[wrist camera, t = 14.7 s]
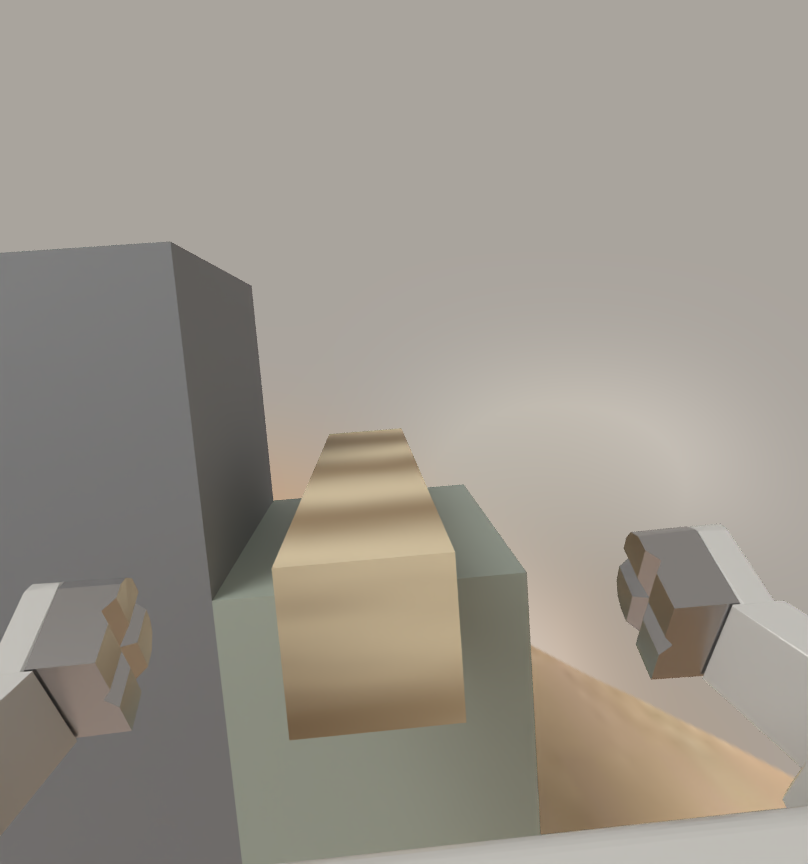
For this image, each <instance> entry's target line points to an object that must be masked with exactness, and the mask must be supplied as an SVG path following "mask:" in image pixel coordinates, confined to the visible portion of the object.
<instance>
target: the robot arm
mask: <svg viewBox="0 0 808 864" xmlns="http://www.w3.org/2000/svg"><path fill="white" fill-rule="evenodd" d="M624 550H625V552H626V554H627V556H628V559H627V560H626V561H625V562H624V563H623V564H622V565H621V566H619V571H618V576H617V591H618V598H619V602H620V606H621V609H622V612H623V614H624V617H625V619H626V621H627V622H628V623H629V624H631V625H632V626H633V627H635V628H636V629H637V630H639V635H638V638H637V642H636V646H637V648H638V650H639V653H640V655H641V657H642V659H643V662H644V664H645V666H646V669H647V671H648V674H649V676H650V678H651V679H666V678H680V677H693V676H703V678H702V679H703V680H704V681H706V682H707V683H708V684H709V685H710V686H711V687H712V688H713V689H714V690H715V691H717V692H718V693H719V694H720V695H721V696H722V697H723V698H724V699H726V700H727V701H728V702H729V703H730V704H731V705H732V706H733V707H734V708H735V709H737V710H738V711H739V712H740V713H741V714H742V715H743V716H744V717H745V718H746V719H748V720H749V721H750V722H751V723H752V724H753V725H754V726H755V727H756V728H758V729H759V730H760V731H761V732H762V733H763V734H764V735H765V736H766V737H767V738H769V739H770V740H771V741H772V742H773V743H774V744H775V745H776V746H778V747H779V748H780V749H781V750H782V751H783V752H784V753H785V754H786V755H787V756H789V757H790V758H791V759H792V760H793V761H794V762H795V763H796V764H797V765H799V767H801V770H800V771H799V773H798V774H797V776H796V777H795V779H794V780H793V782H792V783H791V785H790V786H789V788H788V789H787V791H786V793H785V795H784V797H783V801H784V803H785V805H786V807H787V808H782V809H772V810H763V811H754V812H745V813H736V814H726V815H717V816H708V817H699V818H690V819H681V820H671V821H662V822H653V823H644V824H635V825H625V826H616V827H607V828H598V829H589V830H579V831H570V832H561V833H552V834H543V835H533V836H524V837H515V838H506V839H497V840H488V841H478V842H469V843H460V844H451V845H442V846H433V847H424V848H414V849H405V850H396V851H387V852H378V853H369V854H360V855H350V856H341V857H332V858H323V859H314V860H305V861H296V862H286V863H277V864H808V615H807V614H805V613H804V612H802V611H801V610H799V609H797V608H796V607H794V606H792V605H791V604H789V603H788V602H786V601H784V600H780V601H775V600H774V599H773V597H772V596H771V594H770V593H769V591H768V590H767V588H766V587H765V585H764V584H763V582H762V581H761V579H760V578H759V576H758V575H757V573H756V572H755V570H754V569H753V567H752V566H751V564H750V563H749V561H748V560H747V558H746V556H745V555H744V554H743V552H742V550H741V549H740V547H739V546H738V544H737V543H736V542H735V540H734V538H733V537H732V535H731V534H730V532H729V531H728V529H727V528H726V527H724V526H723V525H721V524H714V525H702V526H691V527H678V528H668V529H658V530H648V531H638V532H631V533H630V534H629V535H628V536H627V538H626V542H625V545H624ZM138 592H139V591H138V589H137V587H136V585H135V583H134V581H133V579H132V578H113V579H97V580H81V581H66V582H56V583H42V584H32V585H31V586H30V587H29V588H28V589H27V590H26V591H25V592H24V593H23V595H22V597H21V599H20V601H19V604H18V606H17V608H16V610H15V612H14V614H13V616H12V619H11V621H10V623H9V625H8V627H7V629H6V631H5V634H4V636H3V638H2V640H1V642H0V836H1V835H2V833H3V832H4V831H5V830H6V828H7V827H8V826H9V825H10V823H11V822H12V821H13V820H14V819H15V817H16V816H17V815H18V814H19V812H20V811H21V810H22V809H23V807H24V806H25V805H26V804H27V802H28V801H29V800H30V799H31V797H32V796H33V795H34V794H35V793H36V791H37V790H38V789H39V788H40V786H41V785H42V784H43V783H44V781H45V780H46V779H47V778H48V776H49V775H50V774H51V773H52V772H53V770H54V769H55V768H56V767H57V765H58V764H59V763H60V762H61V760H62V759H63V758H64V757H65V755H66V754H67V753H68V752H69V750H70V749H71V748H72V747H73V746H74V744H75V743H76V742H77V739H76V738H79V737H87V736H95V735H103V734H111V733H119V732H127V731H132V728H133V725H134V721H135V717H136V713H137V709H138V705H139V701H140V697H141V693H142V691H141V689H140V687H139V685H138V683H137V681H136V679H137V678H138V676H139V675H140V674H141V673H142V672H143V671H144V670H145V669H146V668H147V667H148V665H149V660H150V656H151V651H152V627H151V621H150V618H149V615H148V613H147V610H146V609H145V608H143V607H141V606H140V605H138V604H136V599H137V595H138Z"/></svg>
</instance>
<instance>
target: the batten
mask: <svg viewBox="0 0 808 864" xmlns="http://www.w3.org/2000/svg"><path fill="white" fill-rule="evenodd" d="M272 577H273V587H274V597H275V606H276V616H277V626H278V636H279V645H280V655H281V665H282V674H283V684H284V694H285V703H286V713H287V723H288V732H289V740H299V739H309V738H319V737H329V736H339V735H349V734H358V733H368V732H378V731H388V730H398V729H408V728H418V727H428V726H438V725H447V724H457V723H466V708H465V693H464V678H463V663H462V648H461V633H460V618H459V603H458V588H457V573H456V558H455V551H454V548H453V546H452V544H451V541H450V539H449V537H448V535H447V532H446V530H445V528H444V525H443V523H442V521H441V518H440V516H439V514H438V512H437V509H436V507H435V505H434V502H433V500H432V498H431V495H430V493H429V491H428V489H427V486H426V484H425V482H424V479H423V477H422V475H421V473H420V470H419V468H418V466H417V463H416V461H415V459H414V456H413V454H412V452H411V449H410V447H409V445H408V443H407V440H406V438H405V436H404V434H403V431H402V429H401V428H400V429H389V430H375V431H363V432H351V433H339V434H329V436H328V439H327V441H326V443H325V446H324V448H323V450H322V453H321V455H320V457H319V460H318V462H317V464H316V467H315V469H314V471H313V474H312V476H311V478H310V481H309V483H308V485H307V487H306V490H305V492H304V494H303V497H302V499H301V501H300V504H299V506H298V508H297V511H296V513H295V515H294V518H293V520H292V522H291V525H290V527H289V529H288V532H287V534H286V536H285V538H284V541H283V543H282V545H281V548H280V550H279V552H278V555H277V557H276V559H275V562H274V564H273V566H272Z"/></svg>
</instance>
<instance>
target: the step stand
mask: <svg viewBox="0 0 808 864" xmlns="http://www.w3.org/2000/svg"><path fill="white" fill-rule="evenodd" d="M427 489H428V491H429V493H430V495H431V498H432V500H433V502H434V505H435V507H436V509H437V512H438V514H439V516H440V518H441V521H442V523H443V525H444V528H445V530H446V532H447V535H448V537H449V539H450V541H451V544H452V546H453V548H454V551H455V558H456V573H457V588H458V603H459V618H460V633H461V648H462V663H463V678H464V693H465V708H466V723H457V724H447V725H438V726H428V727H418V728H408V729H398V730H388V731H378V732H368V733H358V734H349V735H339V736H329V737H319V738H309V739H299V740H289V732H288V723H287V713H286V703H285V694H284V684H283V674H282V665H281V655H280V645H279V636H278V626H277V616H276V606H275V597H274V587H273V577H272V566H273V564H274V562H275V559H276V557H277V555H278V552H279V550H280V548H281V545H282V543H283V541H284V538H285V536H286V534H287V532H288V529H289V527H290V525H291V522H292V520H293V518H294V515H295V513H296V511H297V508H298V506H299V504H300V501H301V499H302V498H300V499H287V500H275V501H273V494H272V484H271V474H270V465H269V454H268V445H267V434H266V425H265V415H264V405H263V395H262V385H261V375H260V366H259V355H258V347H257V336H256V326H255V316H254V306H253V297H252V286H251V285H249V284H247V283H245V282H243V281H242V280H240V279H238V278H236V277H234V276H232V275H231V274H229V273H227V272H225V271H223V270H221V269H220V268H218V267H216V266H214V265H212V264H210V263H208V262H207V261H205V260H203V259H201V258H199V257H198V256H196V255H194V254H192V253H190V252H188V251H186V250H185V249H183V248H181V247H179V246H177V245H176V244H174V243H172V242H157V243H142V244H127V245H112V246H97V247H83V248H67V249H52V250H37V251H22V252H7V253H0V642H1V640H2V638H3V636H4V634H5V631H6V629H7V627H8V625H9V623H10V621H11V619H12V616H13V614H14V612H15V610H16V608H17V606H18V604H19V601H20V599H21V597H22V595H23V593H24V592H25V591H26V590H27V589H28V588H29V587H30V586H31V585H32V584H42V583H56V582H66V581H81V580H97V579H113V578H132V579H133V581H134V583H135V585H136V587H137V589H138V591H139V592H138V595H137V599H136V604H138V605H140V606H141V607H143V608H145V609H146V610H147V613H148V615H149V618H150V621H151V627H152V651H151V656H150V660H149V665H148V667H147V668H146V669H145V670H144V671H143V672H142V673H141V674H140V675H139V676H138V678H137V679H136V681H137V683H138V685H139V687H140V689H141V691H142V693H141V697H140V701H139V705H138V709H137V713H136V717H135V721H134V725H133V728H132V731H127V732H119V733H111V734H103V735H95V736H87V737H79V738H76V739H77V742H76V743H75V744H74V746H73V747H72V748H71V749H70V750H69V752H68V753H67V754H66V755H65V757H64V758H63V759H62V760H61V762H60V763H59V764H58V765H57V767H56V768H55V769H54V770H53V772H52V773H51V774H50V775H49V776H48V778H47V779H46V780H45V781H44V783H43V784H42V785H41V786H40V788H39V789H38V790H37V791H36V793H35V794H34V795H33V796H32V797H31V799H30V800H29V801H28V802H27V804H26V805H25V806H24V807H23V809H22V810H21V811H20V812H19V814H18V815H17V816H16V817H15V819H14V820H13V821H12V822H11V823H10V825H9V826H8V827H7V828H6V830H5V831H4V832H3V833H2V835H1V836H0V864H277V863H286V862H296V861H305V860H314V859H323V858H332V857H341V856H350V855H360V854H369V853H378V852H387V851H396V850H405V849H414V848H424V847H433V846H442V845H451V844H460V843H469V842H478V841H488V840H497V839H506V838H515V837H524V836H533V835H541V834H540V815H539V796H538V777H537V758H536V739H535V720H534V701H533V682H532V663H531V644H530V625H529V606H528V587H527V572H526V571H525V569H524V568H523V567H522V565H521V564H520V563H519V561H518V560H517V558H516V557H515V556H514V554H513V553H512V551H511V550H510V549H509V547H508V546H507V545H506V543H505V542H504V540H503V539H502V537H501V536H500V534H499V533H498V532H497V530H496V529H495V528H494V526H493V525H492V523H491V522H490V521H489V519H488V518H487V516H486V515H485V514H484V512H483V511H482V509H481V508H480V507H479V505H478V504H477V502H476V501H475V500H474V498H473V497H472V496H471V494H470V493H469V492H468V490H467V488H466V487H465V486H464V485H452V486H440V487H429V488H427Z"/></svg>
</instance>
